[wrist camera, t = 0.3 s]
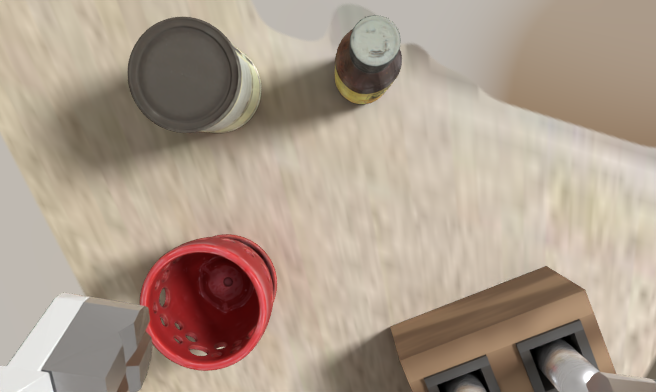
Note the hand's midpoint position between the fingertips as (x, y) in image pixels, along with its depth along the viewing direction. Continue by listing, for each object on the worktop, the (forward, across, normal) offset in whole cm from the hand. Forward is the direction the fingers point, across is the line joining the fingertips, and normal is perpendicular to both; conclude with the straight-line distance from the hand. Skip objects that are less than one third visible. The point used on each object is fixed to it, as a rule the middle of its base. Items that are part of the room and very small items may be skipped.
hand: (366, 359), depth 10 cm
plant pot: (+41, -11, -38) cm, 57 cm away
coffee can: (+51, -15, -18) cm, 56 cm away
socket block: (+39, +21, -40) cm, 60 cm away
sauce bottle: (+53, +1, -15) cm, 55 cm away
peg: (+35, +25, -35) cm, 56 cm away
